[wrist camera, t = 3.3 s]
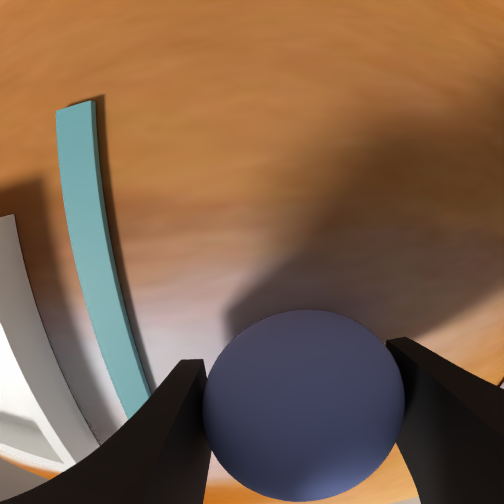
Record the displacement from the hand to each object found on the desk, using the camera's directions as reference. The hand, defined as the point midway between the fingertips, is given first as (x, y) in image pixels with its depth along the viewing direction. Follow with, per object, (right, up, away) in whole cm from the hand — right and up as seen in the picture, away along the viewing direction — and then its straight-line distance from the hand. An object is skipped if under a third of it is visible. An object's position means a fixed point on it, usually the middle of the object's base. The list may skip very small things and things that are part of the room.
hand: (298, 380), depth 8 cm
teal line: (-6, 0, +1) cm, 6 cm away
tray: (-14, -1, +1) cm, 14 cm away
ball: (0, 0, -1) cm, 1 cm away
